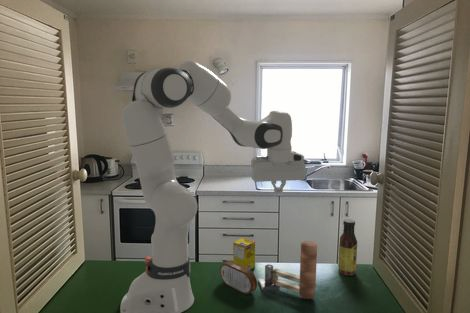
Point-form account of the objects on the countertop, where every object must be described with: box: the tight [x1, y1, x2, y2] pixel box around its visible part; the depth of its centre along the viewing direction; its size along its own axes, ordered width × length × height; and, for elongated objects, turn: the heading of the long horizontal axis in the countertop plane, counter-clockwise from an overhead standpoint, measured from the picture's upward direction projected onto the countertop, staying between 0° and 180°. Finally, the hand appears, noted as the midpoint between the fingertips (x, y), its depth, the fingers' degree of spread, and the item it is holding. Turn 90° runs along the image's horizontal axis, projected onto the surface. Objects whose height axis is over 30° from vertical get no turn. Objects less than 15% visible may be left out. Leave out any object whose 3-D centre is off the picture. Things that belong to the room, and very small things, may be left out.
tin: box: [219, 260, 258, 295], centre depth 117 cm, size 15×3×8 cm, turn 47°
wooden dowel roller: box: [272, 240, 318, 300], centre depth 112 cm, size 15×5×17 cm, turn 55°
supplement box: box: [232, 237, 256, 271], centre depth 130 cm, size 6×6×11 cm
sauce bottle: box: [338, 219, 358, 277], centre depth 127 cm, size 6×6×20 cm
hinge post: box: [257, 264, 281, 292], centre depth 119 cm, size 6×6×7 cm
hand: (278, 192), depth 129 cm, fingers closed
